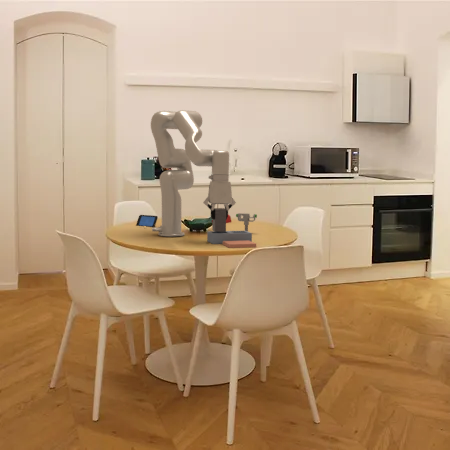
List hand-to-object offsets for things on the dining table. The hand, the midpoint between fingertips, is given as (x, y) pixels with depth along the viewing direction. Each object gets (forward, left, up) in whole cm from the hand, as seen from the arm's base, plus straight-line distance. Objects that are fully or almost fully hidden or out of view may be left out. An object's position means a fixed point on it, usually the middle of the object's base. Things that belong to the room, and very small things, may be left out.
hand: (219, 218), depth 292 cm
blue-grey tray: (+5, 0, -11) cm, 12 cm away
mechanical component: (+22, +30, -11) cm, 38 cm away
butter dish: (+20, +73, -11) cm, 76 cm away
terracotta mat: (+6, -13, -11) cm, 18 cm away
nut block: (0, 0, -6) cm, 6 cm away
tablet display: (-26, +60, -11) cm, 66 cm away
